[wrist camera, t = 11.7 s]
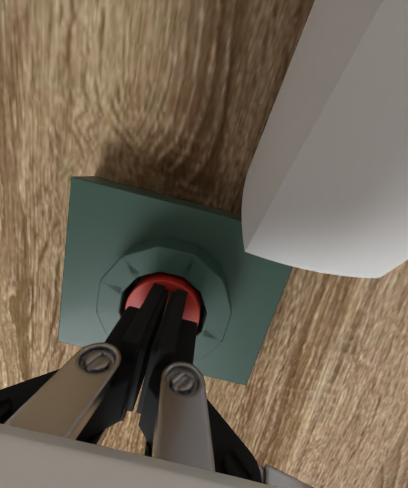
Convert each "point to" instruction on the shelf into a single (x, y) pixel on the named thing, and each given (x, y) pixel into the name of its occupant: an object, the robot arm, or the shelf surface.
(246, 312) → the button block
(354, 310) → the shelf surface
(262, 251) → the faucet
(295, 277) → the shelf surface
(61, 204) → the shelf surface
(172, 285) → the button
